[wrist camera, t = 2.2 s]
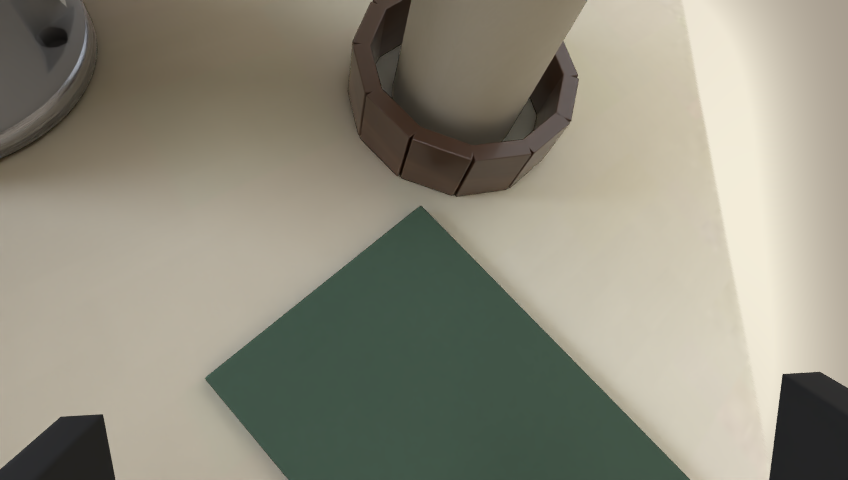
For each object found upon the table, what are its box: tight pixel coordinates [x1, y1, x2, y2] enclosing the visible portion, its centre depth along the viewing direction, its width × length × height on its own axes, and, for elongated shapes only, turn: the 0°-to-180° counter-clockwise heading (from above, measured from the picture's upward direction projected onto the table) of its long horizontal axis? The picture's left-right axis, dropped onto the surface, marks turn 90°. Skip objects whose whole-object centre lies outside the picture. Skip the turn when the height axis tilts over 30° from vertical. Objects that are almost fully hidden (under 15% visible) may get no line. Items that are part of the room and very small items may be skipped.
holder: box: [348, 0, 579, 196], centre depth 31 cm, size 13×13×4 cm
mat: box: [205, 206, 690, 480], centre depth 25 cm, size 20×14×1 cm
